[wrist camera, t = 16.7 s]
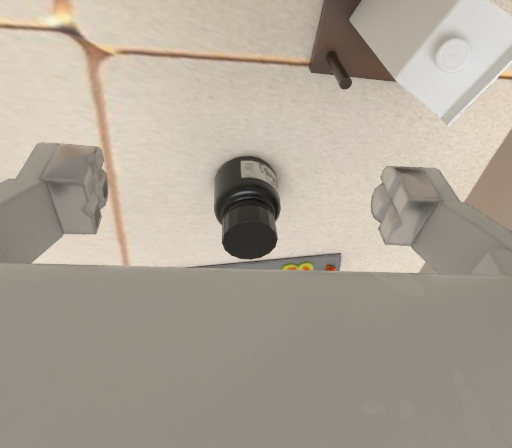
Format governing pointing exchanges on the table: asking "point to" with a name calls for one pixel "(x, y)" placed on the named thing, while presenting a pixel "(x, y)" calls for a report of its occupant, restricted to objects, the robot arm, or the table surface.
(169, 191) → the table surface
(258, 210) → the ink bottle
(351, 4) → the peg rack
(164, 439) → the robot arm
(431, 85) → the milk carton
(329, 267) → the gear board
